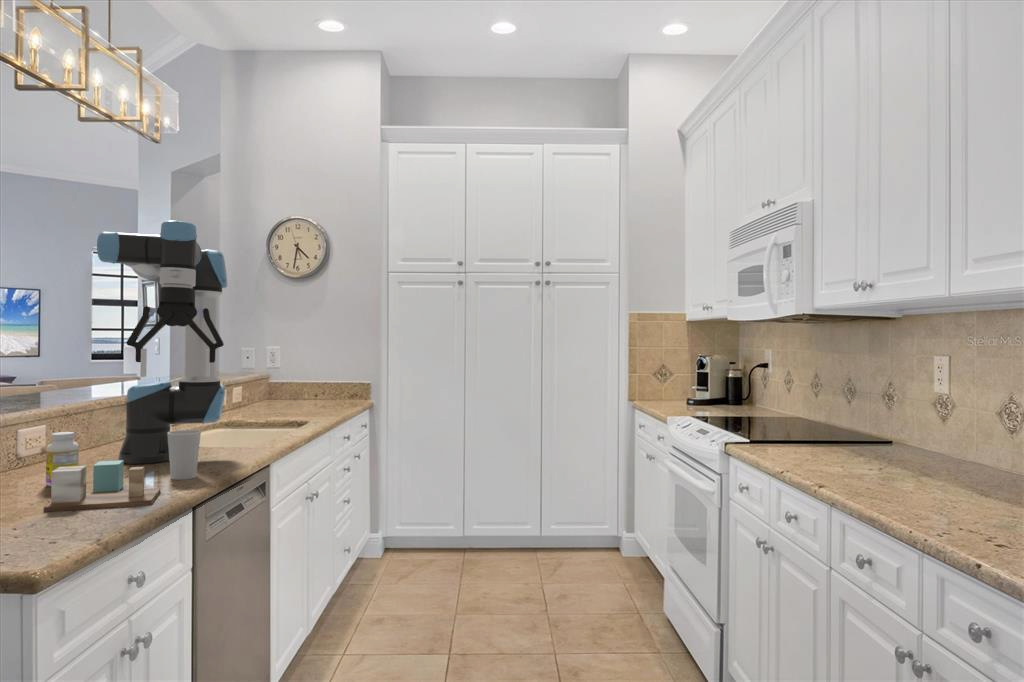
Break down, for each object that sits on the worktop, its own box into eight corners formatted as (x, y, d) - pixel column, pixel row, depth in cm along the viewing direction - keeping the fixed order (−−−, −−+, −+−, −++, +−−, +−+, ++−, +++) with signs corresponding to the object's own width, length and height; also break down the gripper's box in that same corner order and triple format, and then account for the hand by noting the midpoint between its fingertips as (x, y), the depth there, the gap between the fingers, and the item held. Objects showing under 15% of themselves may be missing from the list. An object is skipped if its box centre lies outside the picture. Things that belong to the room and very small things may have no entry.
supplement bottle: (50, 482, 159) (50, 431, 159) (81, 480, 162) (82, 430, 162) (42, 488, 153) (43, 435, 153) (74, 486, 156) (75, 434, 156)
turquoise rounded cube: (98, 488, 154) (99, 461, 154) (123, 486, 156) (123, 460, 156) (92, 493, 149) (93, 465, 149) (118, 491, 151) (118, 464, 151)
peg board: (61, 498, 144) (61, 464, 144) (160, 492, 151) (160, 459, 151) (43, 511, 133) (44, 475, 133) (151, 504, 140) (152, 469, 140)
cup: (186, 481, 163) (186, 434, 163) (159, 479, 165) (160, 433, 165) (206, 474, 171) (207, 430, 171) (181, 473, 173) (182, 429, 173)
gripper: (113, 283, 141) (111, 377, 141) (234, 288, 150) (232, 377, 150) (120, 285, 148) (118, 375, 148) (235, 290, 157) (234, 375, 157)
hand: (176, 376), depth 149 cm, fingers open, 13 cm apart
